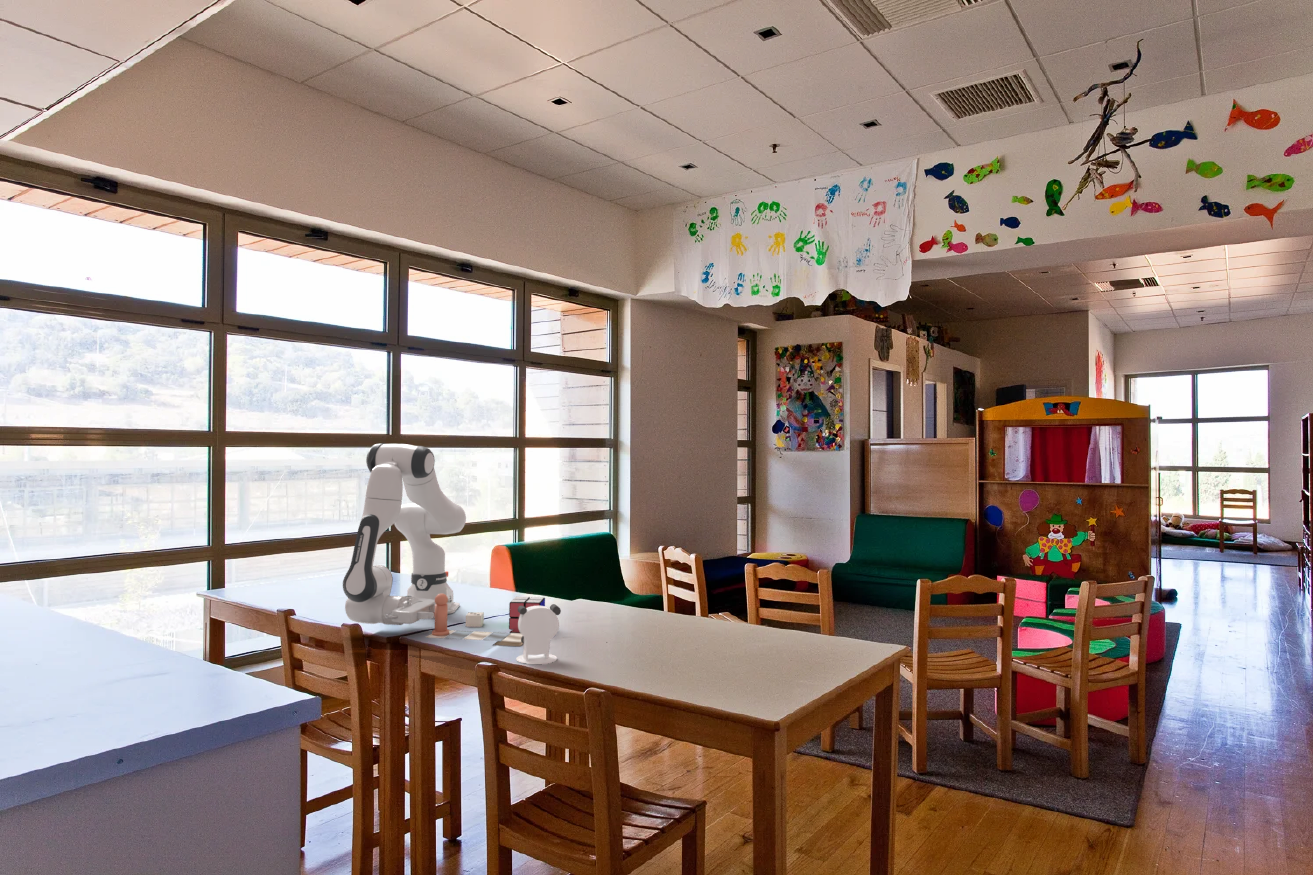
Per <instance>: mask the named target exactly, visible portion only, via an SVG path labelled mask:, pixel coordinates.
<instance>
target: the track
mask: <svg viewBox="0 0 1313 875" xmlns="http://www.w3.org/2000/svg"><path fill="white" fill-rule="evenodd" d="M522 636H523V635H522V634H521V633H509V632H500V631H498V632H497V631H493V632H492V631H474V630H473V631H472V630H453V629H452V630H450V629H449V634H448V635H444V636H435V635H432V633H430V634H429V635H427V636H425V638H428V639H447V640H449V639H451V640H473V641H496V642H494V643H493V644H492V646H508V647H522V645H524V644H523V643H522V641H521V638H522Z"/></svg>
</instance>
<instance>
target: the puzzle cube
mask: <svg viewBox="0 0 1313 875" xmlns="http://www.w3.org/2000/svg"><path fill="white" fill-rule="evenodd" d="M508 605H509V607H508V608H509V609H508V610H509V611H508V612H509V613H508V617H509V618H508V630H511V631H509V632H508V633H520V631H519V629H518V620H519V617H520V613H519V612H518V607H519V606H524V607H525V608H528V607H531V606H545V607H546V597H545V596H514V598H513V599H512V600H511V601H510V602H509V604H508Z"/></svg>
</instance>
